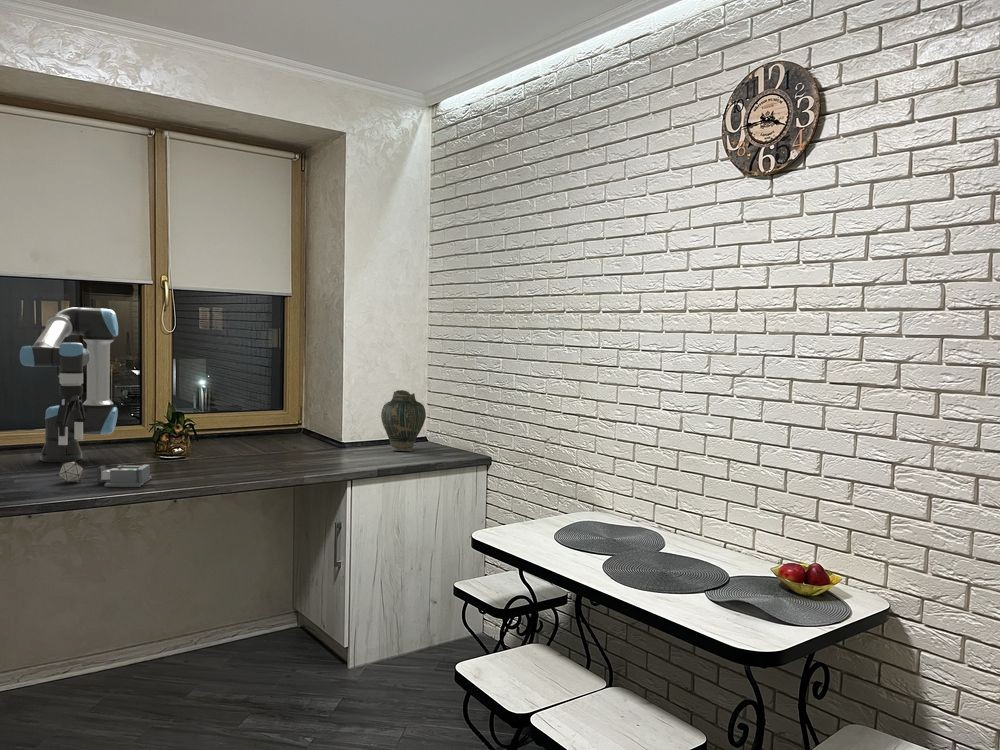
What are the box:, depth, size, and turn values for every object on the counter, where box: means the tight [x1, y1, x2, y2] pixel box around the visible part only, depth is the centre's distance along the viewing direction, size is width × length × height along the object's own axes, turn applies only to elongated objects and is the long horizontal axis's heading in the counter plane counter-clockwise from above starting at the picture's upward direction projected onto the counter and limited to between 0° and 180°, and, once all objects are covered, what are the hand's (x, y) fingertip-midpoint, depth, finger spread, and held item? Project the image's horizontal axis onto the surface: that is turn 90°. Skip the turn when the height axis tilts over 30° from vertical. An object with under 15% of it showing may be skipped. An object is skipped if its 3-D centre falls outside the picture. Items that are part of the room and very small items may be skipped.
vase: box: [380, 389, 427, 452], centre depth 361 cm, size 22×22×30 cm
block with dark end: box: [96, 465, 125, 481], centre depth 268 cm, size 7×9×5 cm
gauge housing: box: [104, 464, 153, 488], centre depth 270 cm, size 14×12×6 cm
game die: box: [55, 460, 87, 485], centre depth 267 cm, size 9×8×10 cm
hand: (71, 442), depth 266 cm, fingers open, 13 cm apart
